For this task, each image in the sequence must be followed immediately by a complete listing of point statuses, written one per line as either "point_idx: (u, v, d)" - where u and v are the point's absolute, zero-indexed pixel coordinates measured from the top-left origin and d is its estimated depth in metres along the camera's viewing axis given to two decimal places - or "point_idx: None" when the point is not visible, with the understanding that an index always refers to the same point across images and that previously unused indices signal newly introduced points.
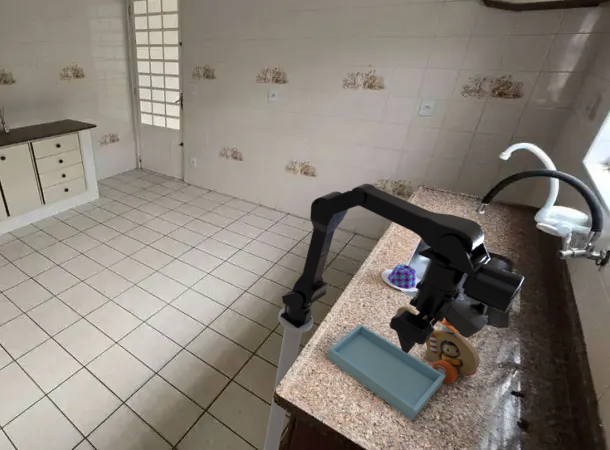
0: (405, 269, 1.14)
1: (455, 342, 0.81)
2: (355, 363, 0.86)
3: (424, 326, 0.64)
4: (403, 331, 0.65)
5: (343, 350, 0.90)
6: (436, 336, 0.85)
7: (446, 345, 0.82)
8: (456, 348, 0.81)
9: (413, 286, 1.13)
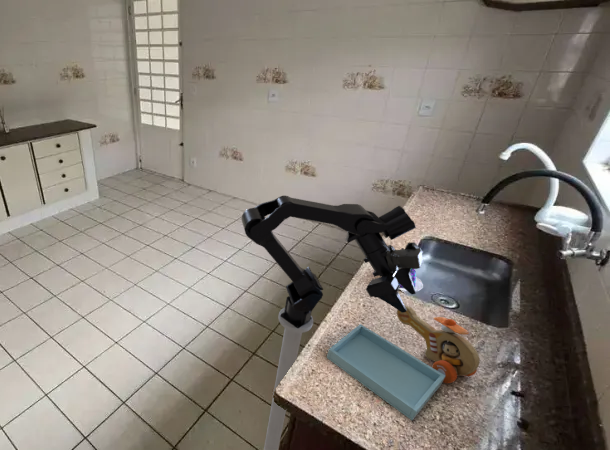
0: None
1: (455, 342, 0.81)
2: (355, 363, 0.86)
3: (385, 278, 0.81)
4: (378, 291, 0.82)
5: (343, 350, 0.90)
6: (436, 336, 0.85)
7: (446, 345, 0.82)
8: (456, 348, 0.81)
9: None
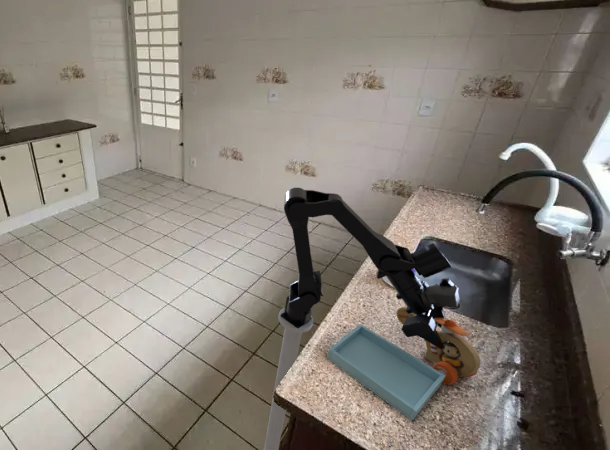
0: None
1: (455, 343, 0.80)
2: (355, 363, 0.86)
3: (421, 318, 0.79)
4: (414, 332, 0.80)
5: (343, 350, 0.90)
6: None
7: (446, 346, 0.82)
8: (456, 349, 0.81)
9: None
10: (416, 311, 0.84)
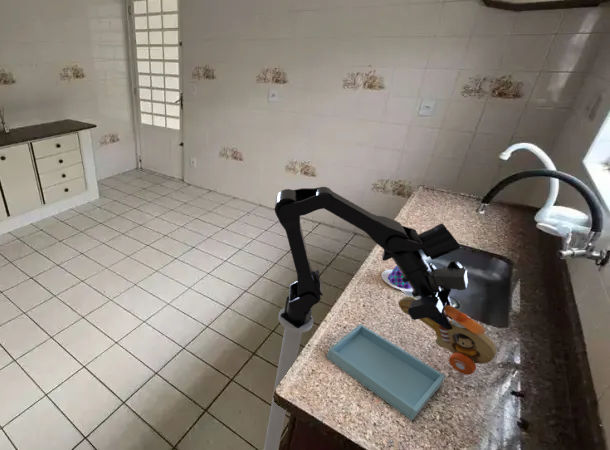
0: None
1: (470, 336, 0.78)
2: (355, 363, 0.86)
3: (429, 300, 0.77)
4: (421, 314, 0.77)
5: (343, 350, 0.90)
6: None
7: (460, 339, 0.79)
8: (471, 340, 0.78)
9: None
10: (423, 294, 0.82)
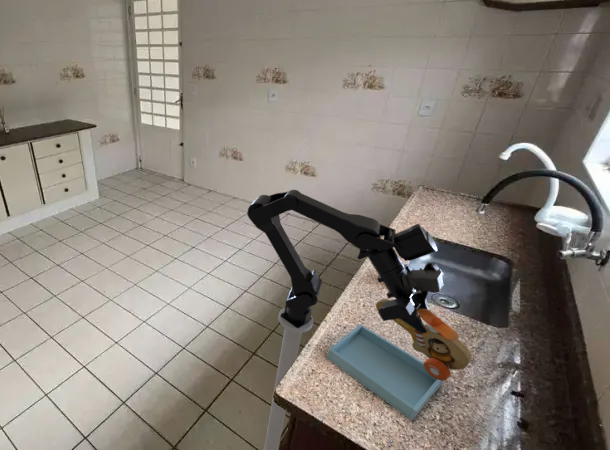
0: None
1: (444, 341, 0.75)
2: (355, 363, 0.86)
3: (399, 301, 0.75)
4: (391, 315, 0.75)
5: (343, 350, 0.90)
6: (422, 333, 0.79)
7: (435, 344, 0.77)
8: (446, 346, 0.76)
9: None
10: (397, 295, 0.79)
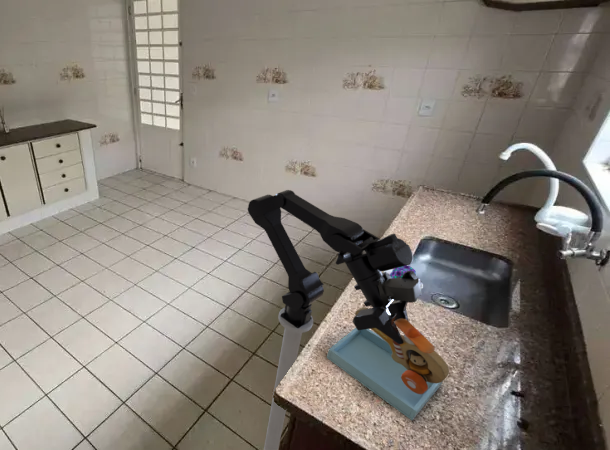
0: (405, 269, 1.14)
1: (421, 353, 0.72)
2: (355, 363, 0.86)
3: (373, 311, 0.72)
4: (364, 325, 0.73)
5: (343, 350, 0.90)
6: (400, 344, 0.76)
7: (412, 355, 0.74)
8: (423, 358, 0.73)
9: None
10: (373, 304, 0.77)
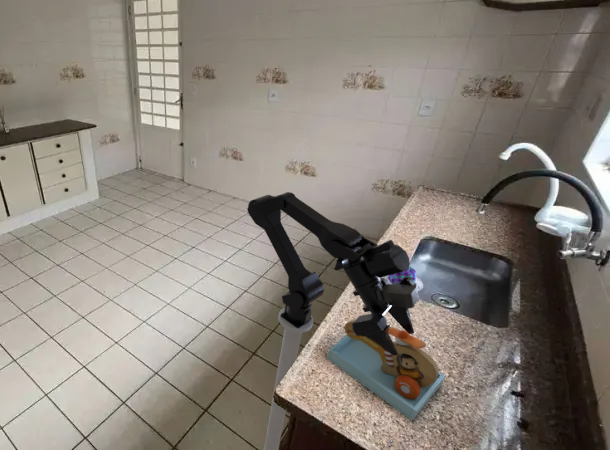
0: None
1: (412, 354, 0.77)
2: (355, 363, 0.86)
3: (372, 316, 0.73)
4: (363, 331, 0.73)
5: (343, 350, 0.90)
6: None
7: (404, 359, 0.78)
8: (414, 360, 0.77)
9: None
10: (372, 310, 0.77)
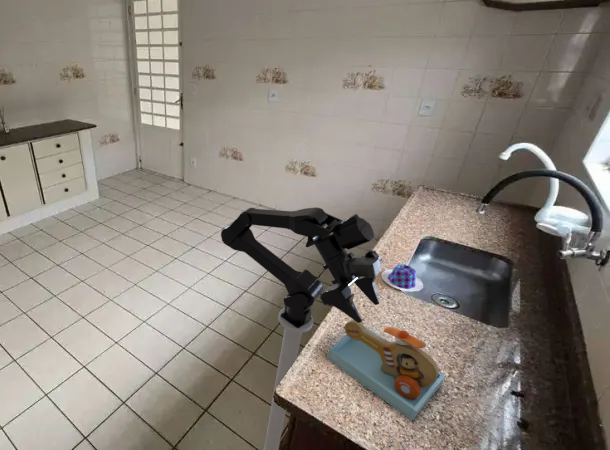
0: (405, 269, 1.14)
1: (412, 354, 0.77)
2: (355, 363, 0.86)
3: (337, 286, 0.79)
4: (329, 299, 0.79)
5: (343, 350, 0.90)
6: (391, 350, 0.81)
7: (404, 359, 0.78)
8: (414, 360, 0.77)
9: (413, 286, 1.13)
10: (339, 281, 0.83)
